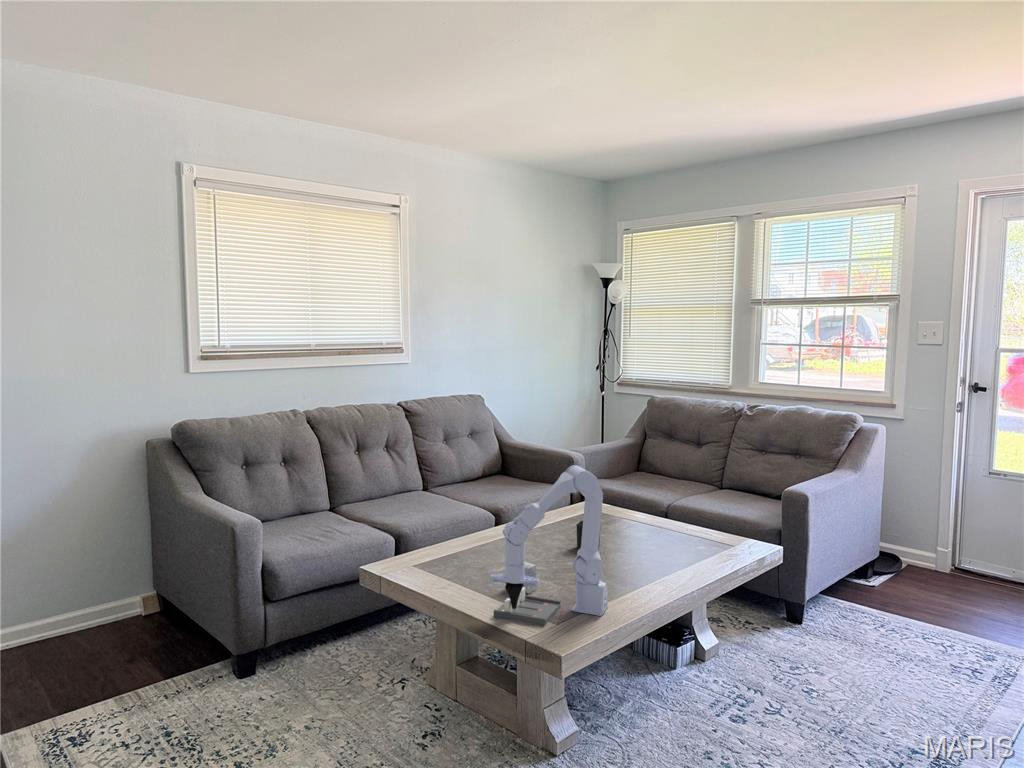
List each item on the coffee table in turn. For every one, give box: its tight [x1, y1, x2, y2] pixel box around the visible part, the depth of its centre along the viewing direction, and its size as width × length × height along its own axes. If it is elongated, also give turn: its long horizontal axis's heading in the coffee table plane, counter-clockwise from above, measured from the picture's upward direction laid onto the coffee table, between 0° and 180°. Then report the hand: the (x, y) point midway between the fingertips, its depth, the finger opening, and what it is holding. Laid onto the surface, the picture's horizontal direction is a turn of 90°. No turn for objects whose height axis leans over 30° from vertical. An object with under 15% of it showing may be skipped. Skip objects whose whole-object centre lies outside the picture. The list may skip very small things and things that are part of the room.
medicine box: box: [523, 561, 537, 595], centre depth 227 cm, size 8×4×9 cm, turn 48°
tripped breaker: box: [503, 597, 512, 612], centre depth 206 cm, size 2×2×4 cm
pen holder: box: [576, 520, 602, 550], centre depth 270 cm, size 9×9×10 cm
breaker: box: [519, 587, 526, 602], centre depth 215 cm, size 2×2×4 cm
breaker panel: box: [493, 594, 562, 627], centre depth 209 cm, size 16×15×2 cm
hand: (514, 607), depth 205 cm, fingers closed
